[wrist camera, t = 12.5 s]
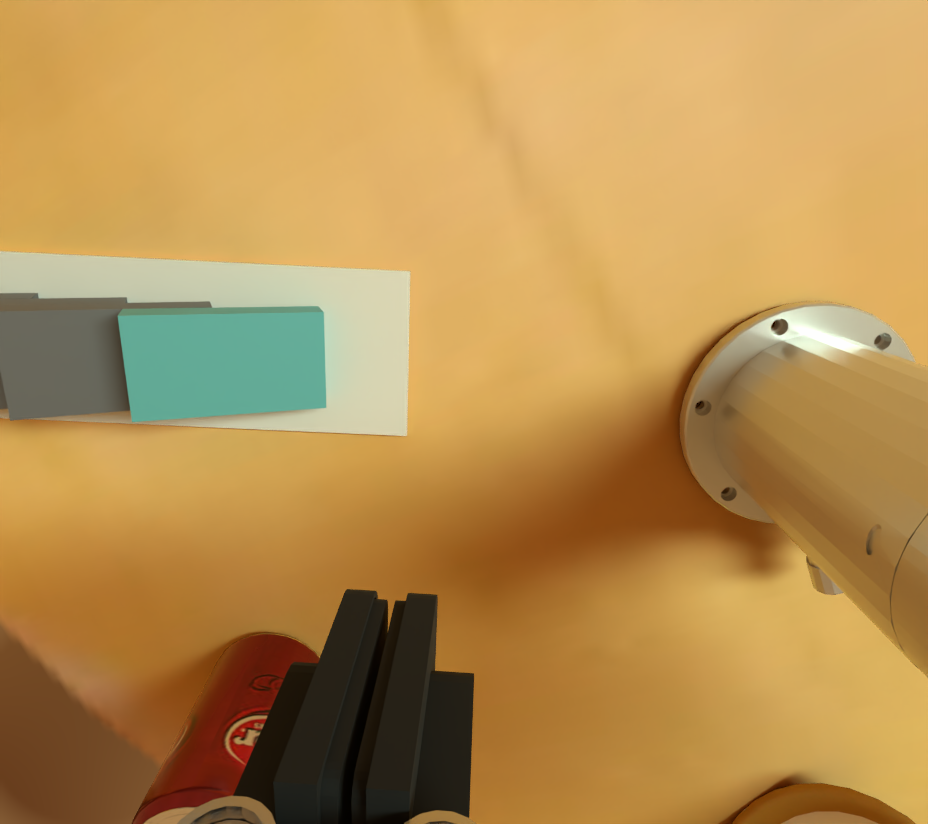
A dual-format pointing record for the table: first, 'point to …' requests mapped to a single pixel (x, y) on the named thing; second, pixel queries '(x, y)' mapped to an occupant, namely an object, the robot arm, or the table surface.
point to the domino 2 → (222, 360)
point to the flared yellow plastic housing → (819, 807)
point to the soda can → (222, 727)
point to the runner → (259, 285)
